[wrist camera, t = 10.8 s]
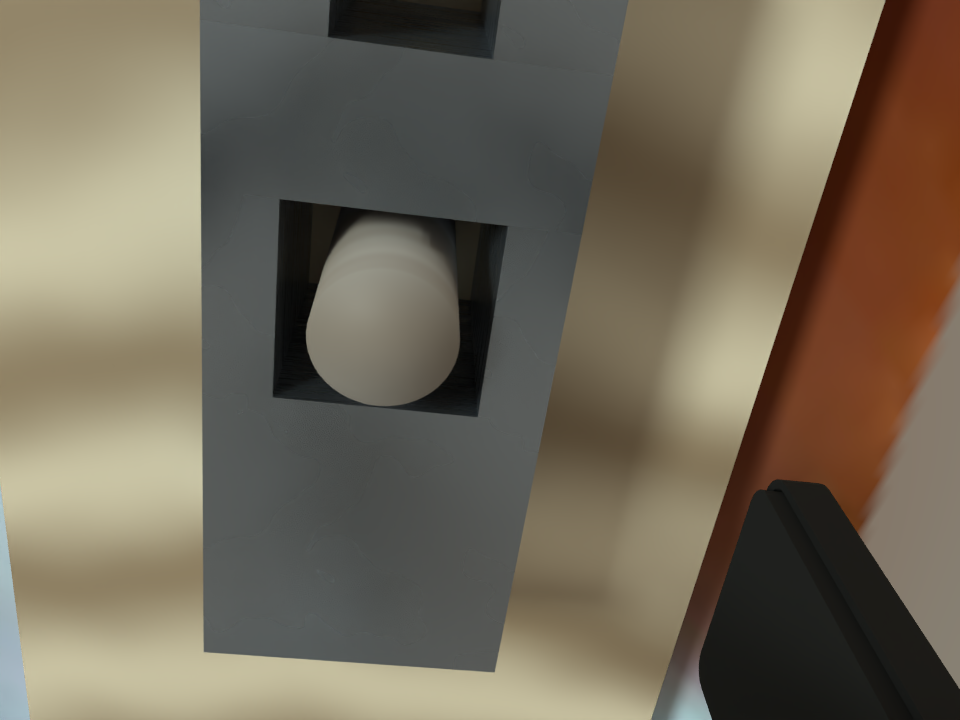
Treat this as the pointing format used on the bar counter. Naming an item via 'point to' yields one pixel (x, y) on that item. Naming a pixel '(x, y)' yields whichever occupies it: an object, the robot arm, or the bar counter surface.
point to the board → (607, 404)
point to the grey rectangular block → (289, 296)
